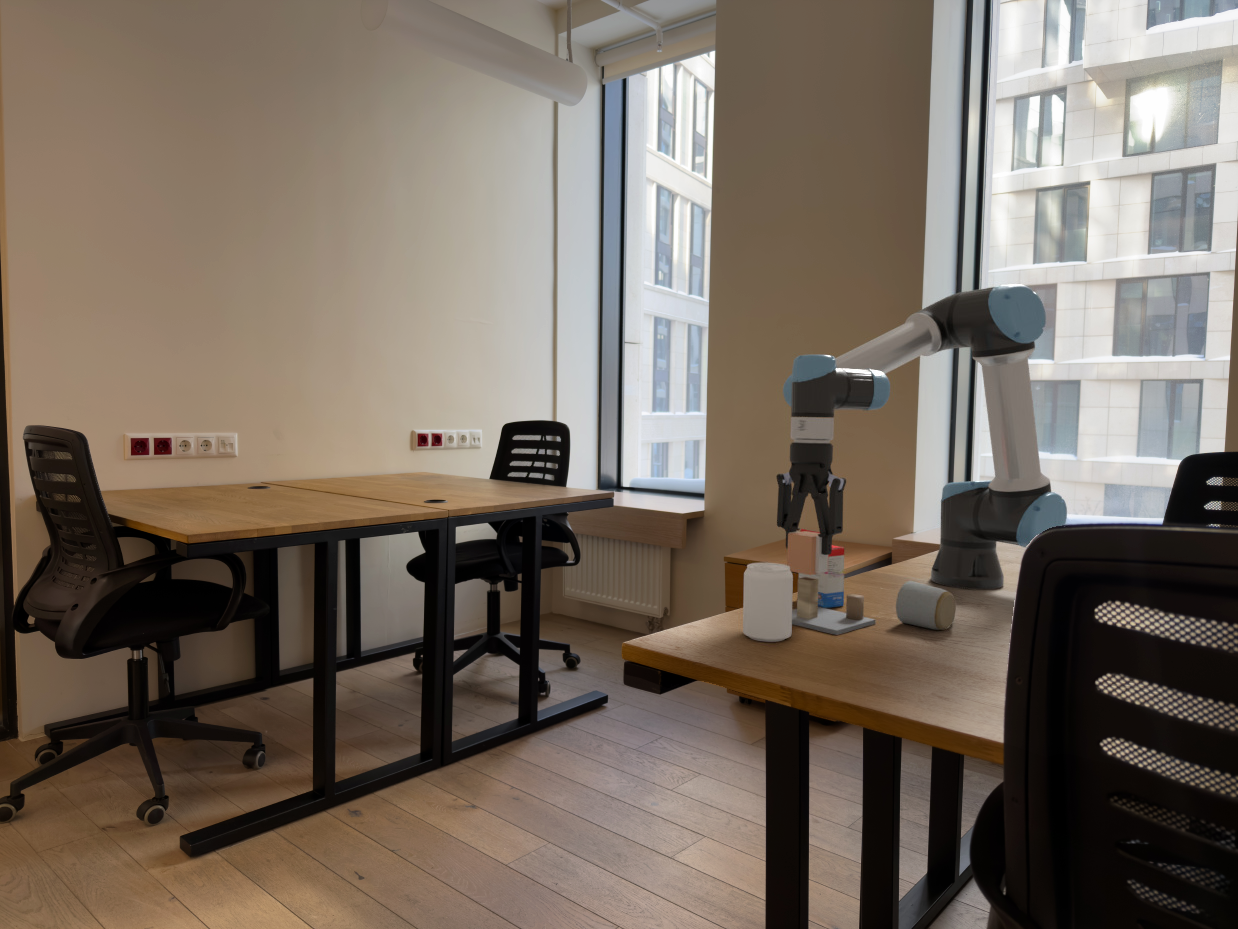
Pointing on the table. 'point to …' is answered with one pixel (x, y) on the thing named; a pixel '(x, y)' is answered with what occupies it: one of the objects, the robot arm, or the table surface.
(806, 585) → the maple post
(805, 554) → the peach foam cube
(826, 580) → the ink box
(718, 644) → the table surface
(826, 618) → the slate plate
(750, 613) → the beverage can
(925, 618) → the ceramic mug
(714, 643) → the table surface
